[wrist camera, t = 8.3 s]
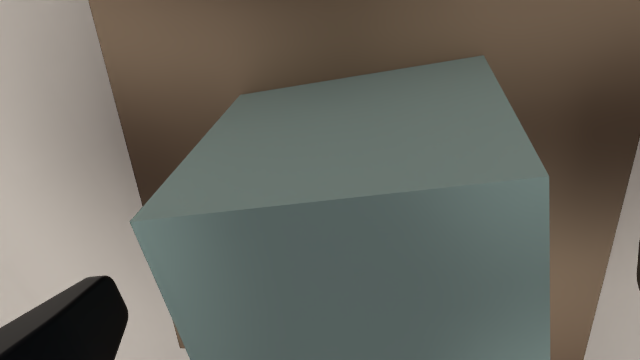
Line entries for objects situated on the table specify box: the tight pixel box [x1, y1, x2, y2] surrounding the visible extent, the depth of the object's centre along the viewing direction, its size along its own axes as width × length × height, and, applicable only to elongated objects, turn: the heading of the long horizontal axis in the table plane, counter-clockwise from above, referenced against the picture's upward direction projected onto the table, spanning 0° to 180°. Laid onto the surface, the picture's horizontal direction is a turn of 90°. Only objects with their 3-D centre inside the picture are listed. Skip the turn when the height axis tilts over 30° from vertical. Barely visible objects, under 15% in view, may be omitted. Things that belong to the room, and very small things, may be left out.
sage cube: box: [130, 55, 550, 360], centre depth 9 cm, size 5×5×5 cm
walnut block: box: [88, 0, 640, 360], centre depth 14 cm, size 11×11×5 cm
